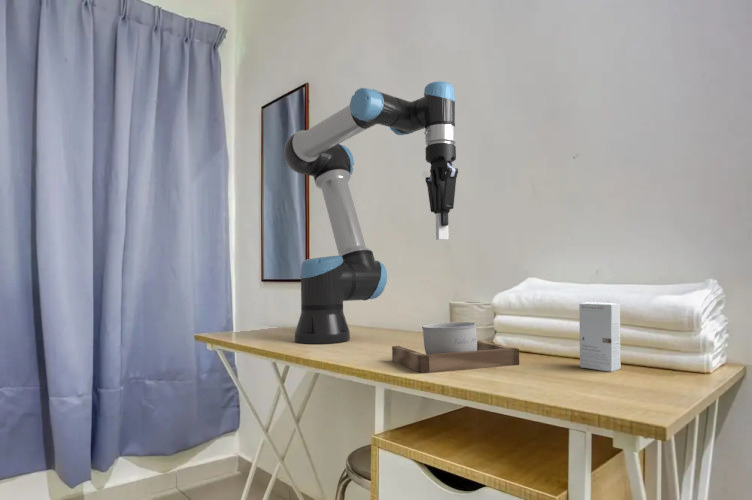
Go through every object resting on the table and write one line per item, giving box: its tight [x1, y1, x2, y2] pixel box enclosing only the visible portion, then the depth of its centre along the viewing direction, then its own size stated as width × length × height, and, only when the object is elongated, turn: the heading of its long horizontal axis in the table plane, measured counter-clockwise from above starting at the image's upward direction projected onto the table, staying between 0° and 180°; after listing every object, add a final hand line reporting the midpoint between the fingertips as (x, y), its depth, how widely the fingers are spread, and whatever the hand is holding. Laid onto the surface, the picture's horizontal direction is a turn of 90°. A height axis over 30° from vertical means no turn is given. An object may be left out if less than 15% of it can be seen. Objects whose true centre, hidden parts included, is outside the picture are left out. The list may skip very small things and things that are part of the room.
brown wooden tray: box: [391, 340, 520, 374], centre depth 98 cm, size 14×21×3 cm, turn 111°
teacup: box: [421, 321, 478, 355], centre depth 99 cm, size 14×11×8 cm
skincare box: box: [578, 301, 622, 372], centre depth 90 cm, size 6×4×12 cm
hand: (442, 239), depth 120 cm, fingers closed
